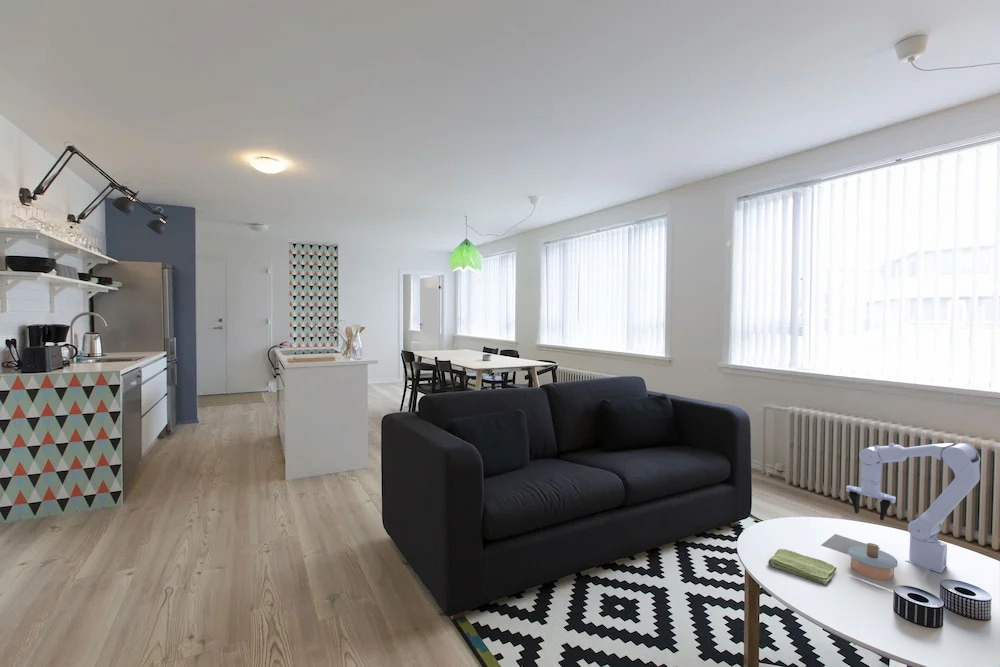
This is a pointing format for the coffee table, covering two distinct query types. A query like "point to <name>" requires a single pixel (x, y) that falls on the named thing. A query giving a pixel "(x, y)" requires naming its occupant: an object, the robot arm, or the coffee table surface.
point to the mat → (842, 543)
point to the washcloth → (802, 565)
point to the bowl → (872, 570)
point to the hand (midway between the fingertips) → (869, 515)
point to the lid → (872, 556)
